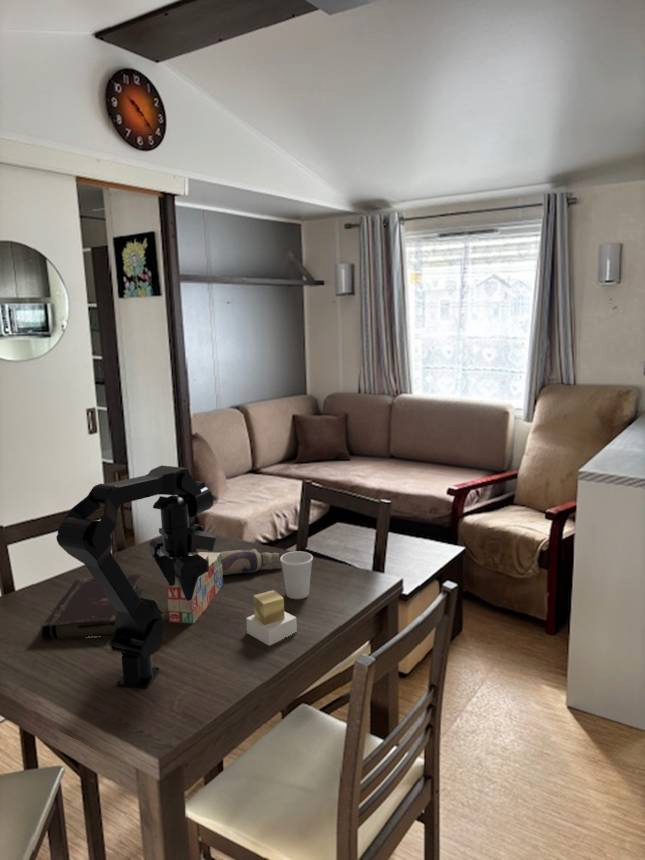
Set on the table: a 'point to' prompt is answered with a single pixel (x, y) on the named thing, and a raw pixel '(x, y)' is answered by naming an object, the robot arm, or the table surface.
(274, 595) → the mustard cube
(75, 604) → the diary
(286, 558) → the dixie cup
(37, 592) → the table surface
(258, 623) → the ivory block
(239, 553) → the decorative bottle
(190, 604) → the stack of blocks
